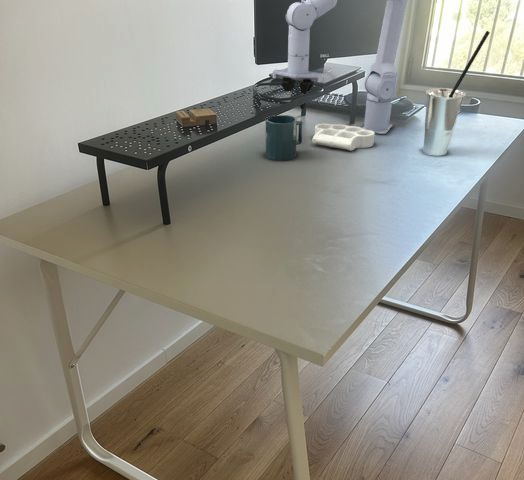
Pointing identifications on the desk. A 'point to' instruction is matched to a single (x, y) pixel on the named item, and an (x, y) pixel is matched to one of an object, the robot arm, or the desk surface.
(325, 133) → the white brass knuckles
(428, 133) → the metal cup with straw
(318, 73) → the robot arm
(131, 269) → the desk surface
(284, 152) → the mug
